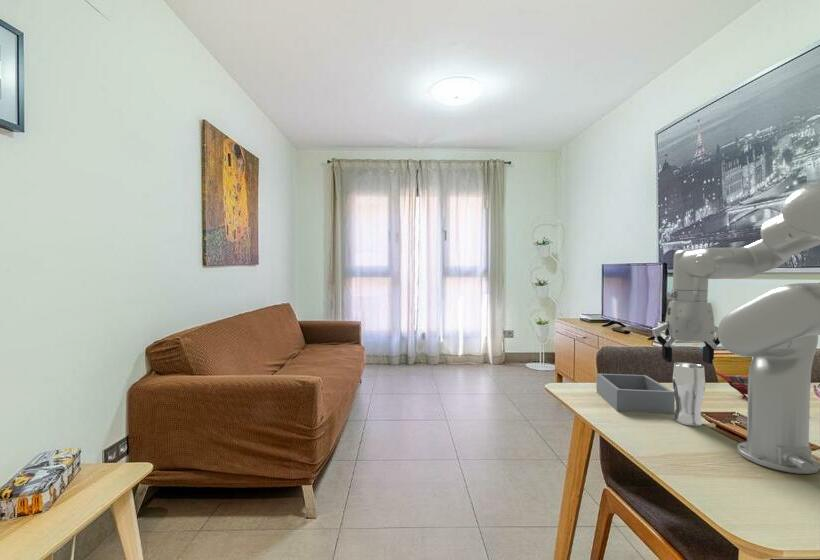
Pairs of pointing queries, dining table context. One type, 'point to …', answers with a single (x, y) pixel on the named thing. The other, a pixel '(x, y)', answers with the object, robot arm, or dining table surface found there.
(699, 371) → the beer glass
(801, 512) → the dining table surface
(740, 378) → the decorative bird figurine
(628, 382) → the box
